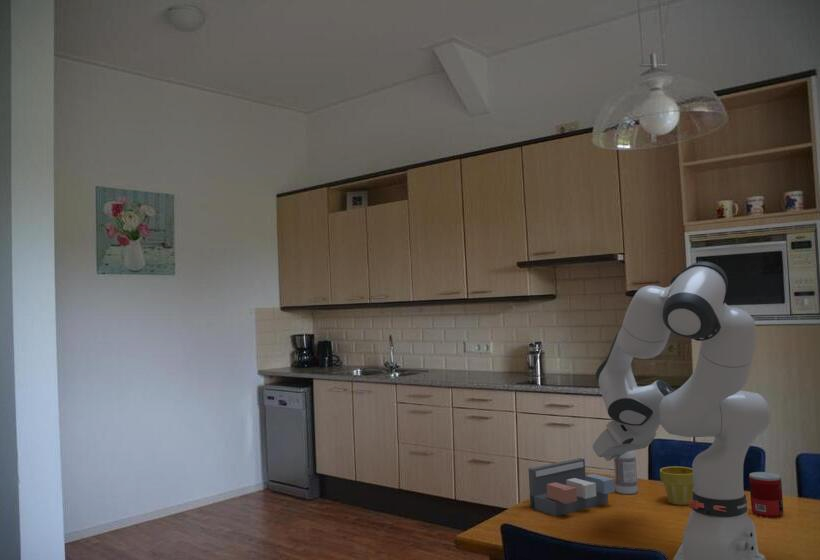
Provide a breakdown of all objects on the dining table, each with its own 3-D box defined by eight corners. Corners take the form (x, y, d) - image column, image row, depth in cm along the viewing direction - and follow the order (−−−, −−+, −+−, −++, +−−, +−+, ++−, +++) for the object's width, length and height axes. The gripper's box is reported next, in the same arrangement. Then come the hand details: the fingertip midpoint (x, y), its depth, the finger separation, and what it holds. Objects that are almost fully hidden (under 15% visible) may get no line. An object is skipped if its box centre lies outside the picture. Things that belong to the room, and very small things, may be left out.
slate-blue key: (615, 491, 200) (614, 478, 201) (604, 494, 198) (603, 480, 198) (594, 486, 207) (594, 473, 208) (584, 488, 205) (583, 475, 205)
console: (608, 502, 204) (605, 463, 204) (555, 516, 192) (553, 475, 193) (582, 495, 213) (580, 458, 214) (530, 508, 202) (528, 468, 202)
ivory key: (596, 496, 196) (595, 482, 196) (585, 499, 194) (584, 485, 194) (576, 490, 203) (575, 477, 203) (565, 493, 201) (564, 480, 201)
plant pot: (657, 504, 200) (655, 471, 201) (667, 495, 208) (665, 464, 209) (693, 509, 194) (691, 475, 194) (701, 500, 202) (699, 468, 203)
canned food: (787, 518, 182) (784, 478, 182) (756, 518, 183) (753, 478, 184) (778, 510, 189) (775, 471, 190) (748, 509, 191) (745, 471, 191)
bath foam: (616, 488, 219) (612, 428, 220) (638, 489, 217) (634, 428, 218) (615, 494, 213) (611, 432, 214) (637, 495, 210) (633, 432, 212)
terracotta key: (577, 501, 192) (576, 487, 192) (565, 504, 190) (564, 490, 190) (557, 495, 199) (556, 481, 199) (546, 498, 197) (545, 484, 197)
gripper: (654, 414, 188) (628, 444, 196) (603, 423, 177) (579, 454, 185) (668, 432, 184) (642, 461, 192) (617, 442, 173) (592, 472, 181)
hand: (610, 457), depth 188 cm, fingers closed
